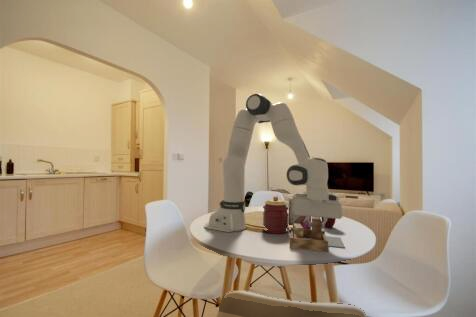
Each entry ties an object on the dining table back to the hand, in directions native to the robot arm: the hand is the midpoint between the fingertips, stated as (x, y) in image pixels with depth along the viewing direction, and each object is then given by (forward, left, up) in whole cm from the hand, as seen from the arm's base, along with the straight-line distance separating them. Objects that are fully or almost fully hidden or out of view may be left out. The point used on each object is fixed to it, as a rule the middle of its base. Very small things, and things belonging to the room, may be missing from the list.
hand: (316, 227), depth 97 cm
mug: (+7, +30, -8) cm, 31 cm away
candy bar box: (-7, +20, -8) cm, 22 cm away
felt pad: (+8, +6, -7) cm, 12 cm away
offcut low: (-8, 0, -8) cm, 11 cm away
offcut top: (-8, 0, -4) cm, 8 cm away
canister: (-19, +15, -8) cm, 25 cm away
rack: (-3, 0, -7) cm, 8 cm away
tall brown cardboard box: (0, 0, -7) cm, 7 cm away
